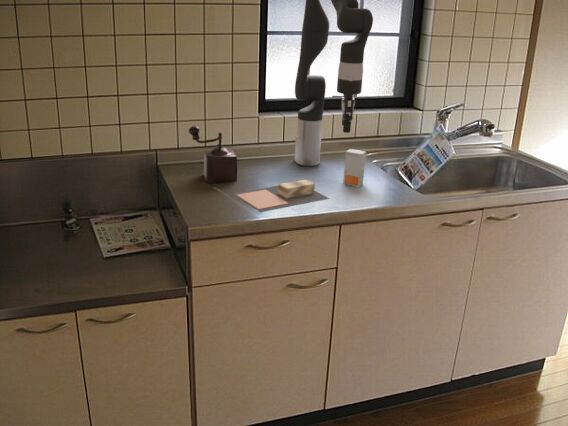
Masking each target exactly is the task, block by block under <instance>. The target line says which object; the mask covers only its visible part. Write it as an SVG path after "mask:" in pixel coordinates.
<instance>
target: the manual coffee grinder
mask: <svg viewBox="0 0 568 426" xmlns="http://www.w3.org/2000/svg"><path fill="white" fill-rule="evenodd" d="M188 133H189V134H190V135H191V136H192V139H191V140H192V141H195V142H196V143H198V144H207V143H212V142H217V141H218V143H217V145H216V146H214V147H213V148H210V149H209V148H208V149H207V148H206V149H203V178H204V179H205V182H206V183H207V184H208V185H209V184H210V185H212V184H214V185H215V184H223V183H229V182H237V181H238V157H237V155H236V153H235V151H234V149H233V148H227V147H225V146H222V140H223V136H222V135H223V133H222V132H218V133H217V134H218V136H217V137H216V138H212V139H206V140H200V139H201V136H200V135H199V133H200V127H199V126H197V125H192V126H190V127H189V128H188Z"/></svg>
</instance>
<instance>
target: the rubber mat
mask: <svg viewBox="0 0 568 426" xmlns="http://www.w3.org/2000/svg"><path fill="white" fill-rule="evenodd" d="M232 195H233V196H234V197H237V198H238V199H239V200H241V201H242V202H244V203H246V204H247V205H248V206H250V207H252V208H253V209H255V210H257V211H258V212H259V213H264V212H268V211H269V212H270V211H274V210H279V209H284V208H289V207H294V206H298V205H304V204H310V203H315V202H318V201H324V200H329V199H330V198H329V197H328V196H326V195H324V194H322V193H320V192H318V191H316V190H315V189H314V193H311V194H306V195H301V196H295V197H290V198H285V197H283V196H282V195H280V194H278V185H274V186H269V187H267V186H266V187H262V188H256V189H251V190H244V191H239V192H233V193H232Z"/></svg>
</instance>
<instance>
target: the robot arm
mask: <svg viewBox="0 0 568 426" xmlns="http://www.w3.org/2000/svg"><path fill="white" fill-rule="evenodd" d="M330 2H331V3H332V4H331V5H332V6H333V8H334V10H335V13H336V27H337V29H338V30H339V31H340V32H341V33H343V34H356V35H355V37H354V38H353V39H351V40H347V41H343V42H342V43H341V45H340V56H339V63H338V70H337V71H338V73H337V81H336V83H337V84H336V85H337V86H336V91H337V93H339V94H342V96H343V97H341V110H342V111H341V112H342V116H341V117H342V118H341V119H342V120H341V125H342V126H343V128H342V131H343V133H348V134H349V133H350V132H351V128H352V120H353V119H354V117H353V115H354V112H355V111H354V110H355V104H356V99H355V98H354V95H360V94H361V93H362V89H363V77H364V55H365V48H366V44H367V41H368V38H369V35H370V33H371V30H372V27H373V22H374V17H373V14H372V12H371V10H370V9H368V8H362V7H360V8H359V6H360V5H359V1H358V0H330ZM329 32H330V20H329V17H328V15H327V13H326V11H325V8H324V7H323V4H322V2H321V0H305V6H304V14H303V21H302V30H301V40H300V41H301V42H300V52H299V60H298V61H299V62H298V68H297V72H296V78H295V84H294V96H295V98H296V100H298V101H300V102H301V101H303V102H304V101H307V102H311V101H312V102H311V104H310V105H308V106H306V107H304V108H301V109H299V110H298V111H297V122H296V123H297V126H296V128H297V130H296V131H297V132H296V136H295V140H294V141H295V142H294V143H295V144H294V161H295V163H296V164H297V165H300V166H304V167H305V166H307V167H309V166H310V167H311V166H313V167H315V166H317V165H319V164H320V161H321V159H320V158H321V147H322V146H321V144H322V132H323V131H322V130H323V129H322V128H323V114H324V104H325V95H326V89H327V86H326V85H327V83H326V79H325V77H324V76H323V75H320V74H316V75H315V74H308V73H309V72H310V68H311V67H312V64H313V63H314V61H315V60H316V59H317V58H318V56H319V55H320V54H321V53H322V52H323V50H324V49H325V47H326V45H327V43H328V41H329V40H328V39H329Z"/></svg>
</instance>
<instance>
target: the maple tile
mask: <svg viewBox="0 0 568 426" xmlns="http://www.w3.org/2000/svg"><path fill="white" fill-rule="evenodd" d="M277 186H278V194H280V195H282V196H283V197H285V198H290V197H295V196H301V195H306V194H311V193H314V190H315V189H316V187H315V186H316V183H315V182H312V181H310V180H309V179H302V180H295V181H289V182H283V183H278V185H277Z"/></svg>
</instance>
